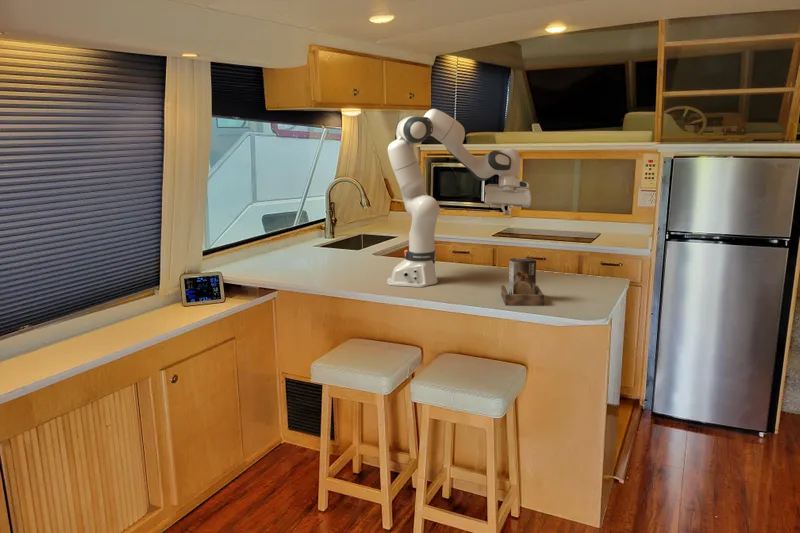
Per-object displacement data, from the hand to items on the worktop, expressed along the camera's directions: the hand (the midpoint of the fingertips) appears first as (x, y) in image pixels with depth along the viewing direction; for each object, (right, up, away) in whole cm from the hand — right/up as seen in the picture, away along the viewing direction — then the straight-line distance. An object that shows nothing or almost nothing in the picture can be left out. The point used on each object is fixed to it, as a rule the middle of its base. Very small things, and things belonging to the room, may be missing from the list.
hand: (506, 215), depth 255 cm
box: (+1, -36, -24) cm, 43 cm away
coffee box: (+2, -36, -23) cm, 43 cm away
